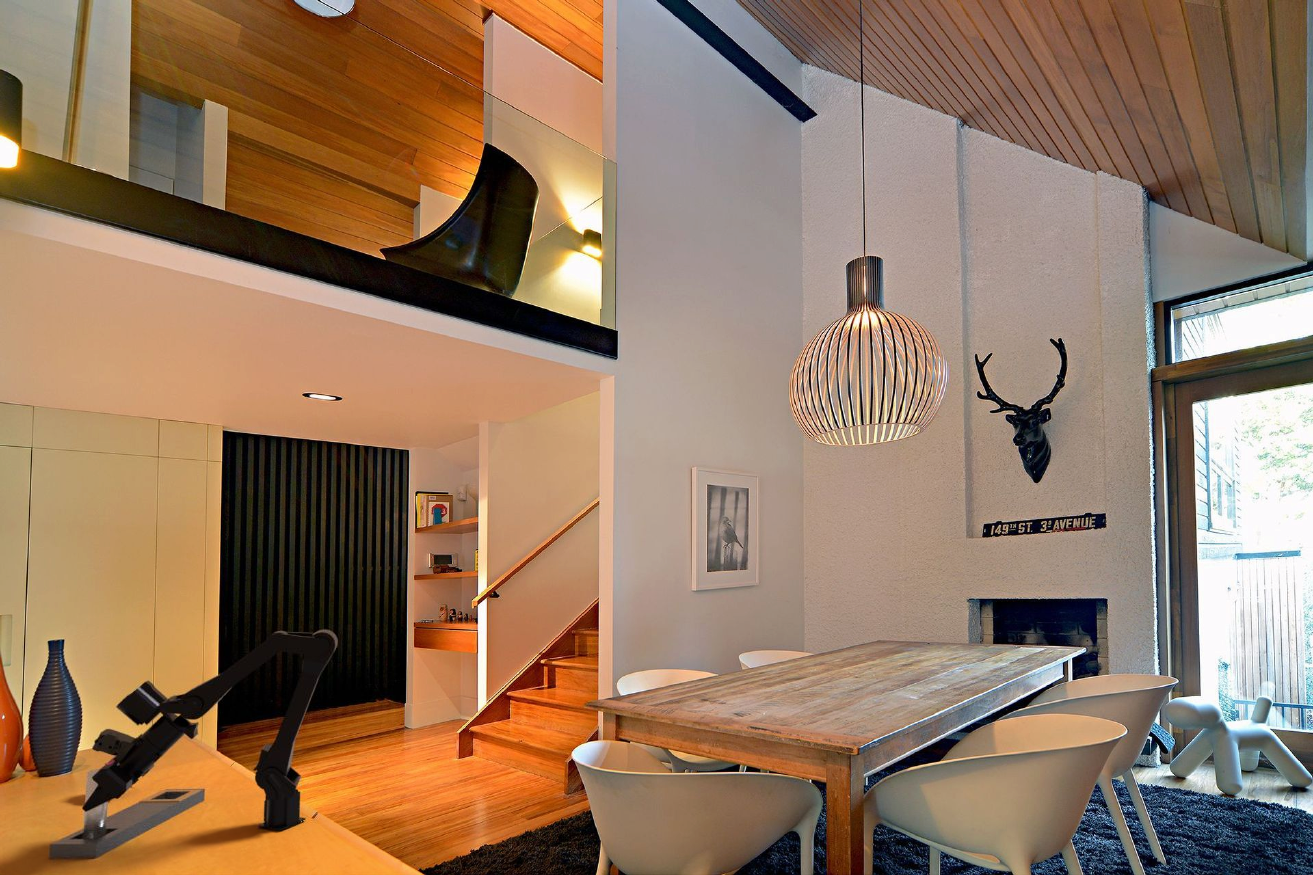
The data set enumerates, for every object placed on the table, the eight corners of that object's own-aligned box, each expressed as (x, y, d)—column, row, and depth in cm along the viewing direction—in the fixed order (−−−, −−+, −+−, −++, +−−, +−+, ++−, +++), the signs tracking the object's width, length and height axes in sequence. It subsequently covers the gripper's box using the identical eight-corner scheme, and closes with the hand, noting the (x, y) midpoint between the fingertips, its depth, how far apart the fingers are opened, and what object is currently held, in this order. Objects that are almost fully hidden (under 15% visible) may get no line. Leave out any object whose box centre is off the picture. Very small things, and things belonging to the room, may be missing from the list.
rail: (96, 857, 147) (97, 842, 148) (49, 858, 148) (50, 842, 148) (204, 800, 180) (204, 787, 180) (165, 800, 180) (166, 788, 181)
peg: (109, 844, 154) (113, 769, 155) (90, 851, 150) (94, 774, 152) (97, 842, 155) (101, 767, 157) (77, 849, 152) (82, 772, 153)
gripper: (139, 705, 166) (73, 766, 161) (108, 723, 148) (33, 793, 143) (180, 740, 167) (116, 802, 162) (154, 763, 149) (81, 833, 145)
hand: (87, 806), depth 153 cm, fingers closed on peg, 4 cm apart
